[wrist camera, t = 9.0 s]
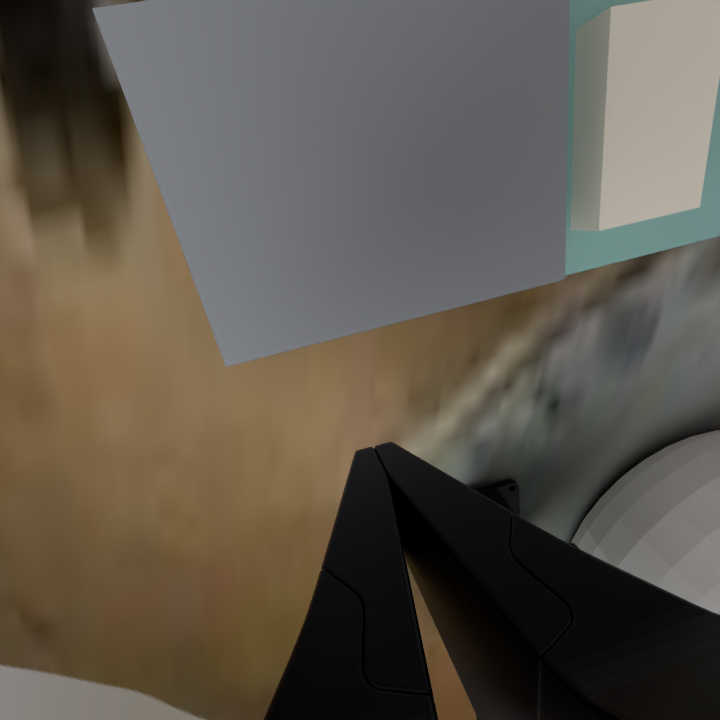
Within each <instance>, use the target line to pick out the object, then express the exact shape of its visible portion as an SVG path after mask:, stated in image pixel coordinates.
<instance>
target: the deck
mask: <svg viewBox="0 0 720 720" xmlns="http://www.w3.org/2000/svg"><path fill="white" fill-rule="evenodd" d="M569 5H570V0H148V1H141V2H134V3H127V4H120V5H113V6H106V7H99V8H92V9H93V12H94V15H95V17H96V20H97V23H98V25H99V28H100V31H101V33H102V36H103V39H104V41H105V44H106V47H107V49H108V52H109V55H110V57H111V60H112V63H113V66H114V68H115V71H116V74H117V76H118V79H119V82H120V84H121V87H122V90H123V92H124V95H125V98H126V100H127V103H128V106H129V108H130V111H131V114H132V116H133V119H134V122H135V125H136V127H137V130H138V133H139V135H140V138H141V141H142V143H143V146H144V149H145V151H146V154H147V157H148V159H149V162H150V165H151V167H152V170H153V173H154V175H155V178H156V181H157V183H158V186H159V189H160V192H161V194H162V197H163V200H164V202H165V205H166V208H167V210H168V213H169V216H170V218H171V221H172V224H173V226H174V229H175V232H176V234H177V237H178V240H179V242H180V245H181V248H182V251H183V253H184V256H185V259H186V261H187V264H188V267H189V269H190V272H191V275H192V277H193V280H194V283H195V285H196V288H197V291H198V293H199V296H200V299H201V301H202V304H203V307H204V310H205V312H206V315H207V318H208V320H209V323H210V326H211V328H212V331H213V334H214V336H215V339H216V342H217V344H218V347H219V350H220V352H221V355H222V358H223V360H224V363H225V366H226V367H228V366H232V365H235V364H239V363H243V362H247V361H251V360H255V359H259V358H263V357H266V356H270V355H274V354H278V353H282V352H286V351H290V350H294V349H298V348H301V347H305V346H309V345H313V344H317V343H321V342H325V341H329V340H332V339H336V338H340V337H344V336H348V335H352V334H356V333H360V332H364V331H367V330H371V329H375V328H379V327H383V326H387V325H391V324H395V323H398V322H402V321H406V320H410V319H414V318H418V317H422V316H426V315H429V314H433V313H437V312H441V311H445V310H449V309H453V308H457V307H461V306H464V305H468V304H472V303H476V302H480V301H484V300H488V299H492V298H495V297H499V296H503V295H507V294H511V293H515V292H519V291H523V290H527V289H530V288H534V287H538V286H542V285H546V284H550V283H554V282H558V281H561V280H565V259H566V195H567V132H568V68H569Z"/></svg>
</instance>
